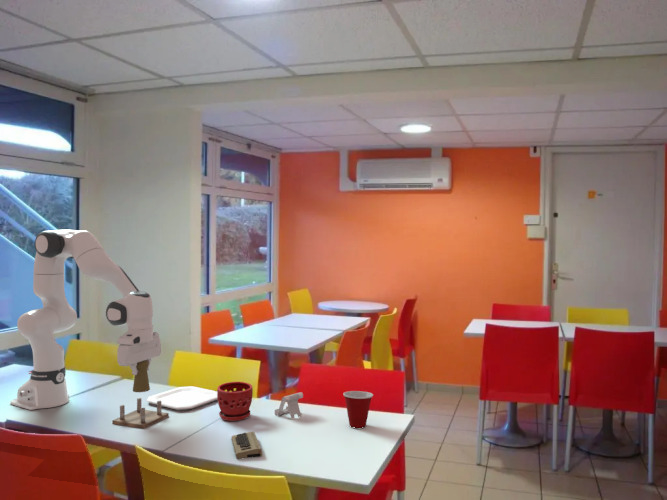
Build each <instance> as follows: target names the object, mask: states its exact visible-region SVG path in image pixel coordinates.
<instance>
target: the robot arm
mask: <svg viewBox="0 0 667 500" xmlns="http://www.w3.org/2000/svg"><path fill="white" fill-rule="evenodd" d="M34 249H35V251H36V253H35V257H34V263H33V276H32V277H33V279H32V280H33V284H32V285H33V289H32V290H33V294H34V295H35V296H36V297H38V298H39V299H40V300H41V303H42V308H37V309H32V310H29V311H26V312H25V313H23V314H21V315H20V316H19V318H18V319H17V324H16V326H17V331H18V332H19V333H20V335H21V336H22V337H24V338H25V339H26V340H27V341H28V342H29V344H30V347H31V350H32V359H33V360H32V361H33V363H32V364H33V369H32V370H29V371H28V375H30V377H29V379H28V380H27V381H26V382H24V384H22V385H21V386H20V387H18V389H17V394H16V395H17V397H16V398H15V399H12V400H11V401H10V405H12V406H16V407H20V408H23V409H25V410H29V411H31V410H32V411H34V410H37V409H38V410H39V409H47V408H48V409H50V408H54V407H55V408H56V407H59V406H63V405H65V404H67V403H69V401H70V399H69V398H70V395H69V394H68V388H67V381H66V371H67V370H66V366H65V349H64V347H63V346H62V345H61V344H58V343H57V341H56V337H55V334H59V333H63V332H66V331H68V330H69V329H71V328H73V327H74V326H75V325H76V324H77V321H78V314H77V312H76V310H75V309H74V308H73V307H72V306H71V305H70V304H69V302H68V299H67V296H66V293H65V262H66V261H67V259H68V258H71V259H74V261H75V263H76V265H77V267H78V269H79V270H80V272H81V273H82V274H83V275H85V276H86V277H87V278H89V279H92V280H95V281H96V280H98V281H101V282H106V283H109V284H111V285H112V286H114V287H115V288H116V289H117V290H118V292H119V293H120V294H121V295H122V297H123V298H120V299H119V298H118V299H115V300H113V301H111V302H110V303H109V302H108V305H107V307H106V309H105V317H106V320H107V321H108V323H109V324H110V325H112V326H117V327H121V326H127V331H126V332H124V333H123V334H122V335H121V336H119V337H118V338H117V341H116V342H117V345H118V347H117V355H116V357H117V358H116V360H117V361H116V362H117V364H118V365H119V366H120V367H130V369H131V371H132V375H133V376H135V375H138V374H139V370H137V368H136V366H137V363H138V362H141V361H144V360H146V361H147V362H148V368H147V372H148V371H150V365H151V363H152V359H153V358H156V357H159V356H161V354H162V343H161V339H160V335H159V333H158V332H156V331H154V328H153V327H154V325H153V323H152V322H153V312H154V311H153V310H154V309H153V301H152V297H151V295H150V293H148V292H146V291H140V290H139V289H138V287H137V286H136V285H135V283H134V282H133V281H132V279H131V278H130V276H129V275H127V273H126V272H125V271H124V269H123V268H122V267H121V266H119V265H118V264H117V263H115V262H114V260H112V259H111V258H110V256H109V255H108V254H107V252H106V251H105V249H104V248H103V246H102V244H101V243H100V242H99V240H98V239H97V238H96V236H95V235H94V234H92V232H90V231H88V230H80V229H53V230H49V229H48V230H44V231H41V232H39V233H37V235H36V237H35V239H34Z"/></svg>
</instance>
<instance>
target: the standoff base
mask: <svg viewBox="0 0 667 500" xmlns="http://www.w3.org/2000/svg"><path fill="white" fill-rule="evenodd" d="M125 411H126V409H125V405H124V404H121V405H119V417H117V418H114V419H113V420H112V425H119V426H125V427H130V428H131V427H132V428H137V429H146V428H148V427H150V426H152V425H154V424H156V423H158V422H160V421H162V420H164V419H167V418H168V417H169V416H170V415H169V412H162V406H161V401H157V405H156V411H154V410H147V409H146V407H142V398H141V397H137V398H136V409H135V410H133V411H131V412H128V413H126V414H125Z"/></svg>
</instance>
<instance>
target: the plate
mask: <svg viewBox="0 0 667 500" xmlns="http://www.w3.org/2000/svg"><path fill="white" fill-rule="evenodd" d="M157 401H161V407H162V408H168V409H172V410H174V411H175V410H176V411H190V410H192V409H196V408H199V407H202V406H205V405H207V404H210V403H213V402H215V401H218V398H217V390H216V391H215V390H212V389H207V388H202V387H198V386H193V385H190V386H189V385H188V386H179V387H175V388H172V389H170V390H166V391H162V392H160V393H156V394H153V395H150V396H148V397H147V399H146V402H147V403H149V404H153V405H154V406H155V405H156V406H157Z"/></svg>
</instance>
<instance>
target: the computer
mask: <svg viewBox="0 0 667 500" xmlns="http://www.w3.org/2000/svg"><path fill="white" fill-rule="evenodd" d="M230 440H231V444H232V447H233V451H234V455H235V458H236V460H241V459H242V458H244V459H252V458H258V457H262V456H263V452H262V448H261V445H260V443H259V440H258V438H257V435H256V433H255V431H248V432H242V433H238V434H235V435H234V434H233V435H232V436H231V439H230Z"/></svg>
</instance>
